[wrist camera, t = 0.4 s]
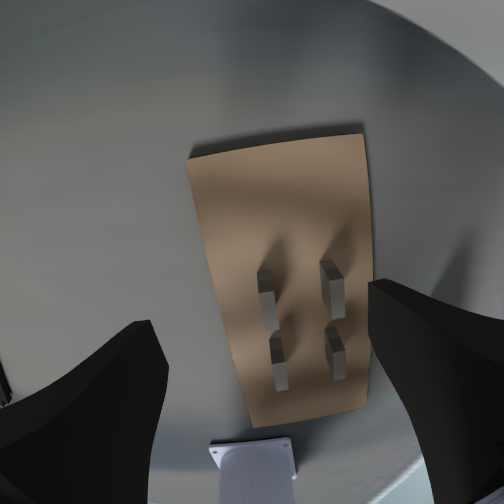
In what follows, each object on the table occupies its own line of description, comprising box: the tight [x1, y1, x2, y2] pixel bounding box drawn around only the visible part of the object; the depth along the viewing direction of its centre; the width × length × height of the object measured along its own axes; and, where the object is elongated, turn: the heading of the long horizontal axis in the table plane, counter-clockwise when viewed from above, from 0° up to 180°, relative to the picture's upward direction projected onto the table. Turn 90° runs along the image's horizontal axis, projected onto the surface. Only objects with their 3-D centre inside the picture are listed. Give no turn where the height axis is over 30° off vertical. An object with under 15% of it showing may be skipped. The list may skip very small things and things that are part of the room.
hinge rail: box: [186, 134, 373, 428], centre depth 19 cm, size 22×10×3 cm, turn 10°
